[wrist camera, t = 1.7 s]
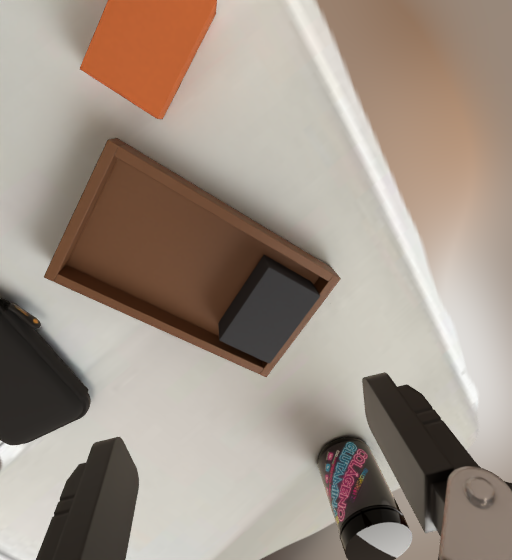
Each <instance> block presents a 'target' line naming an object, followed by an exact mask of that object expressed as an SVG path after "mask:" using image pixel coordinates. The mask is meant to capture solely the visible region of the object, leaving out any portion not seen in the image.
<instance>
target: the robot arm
mask: <svg viewBox="0 0 512 560" xmlns="http://www.w3.org/2000/svg"><path fill="white" fill-rule="evenodd" d="M362 382H363V393H364V403H365V413H366V418H367V421H368V424H369V427H370V429H371V431H372V433H373V435H374V437H375V439H376V441H377V443H378V445H379V447H380V449H381V450H382V452H383V454H384V456H385V458H386V460H387V462H388V464H389V466H390V468H391V469H392V471H393V473H394V475H395V477H396V479H397V481H398V483H399V485H400V486H401V488H402V490H403V492H404V494H405V496H406V498H407V500H408V502H409V504H410V505H411V507H412V509H413V511H414V513H415V514H416V517H417V518H418V520H419V523H420V524H421V526H422V528H423V530H424V532H425V533H428V532H432V531H436V530H437V531H438V533H439V535H440V536H441V540H440V549H439V557H438V560H512V483H508V482H505V481H503V480H502V479H501V478H499V477H498V476H497V475H495V474H493V473H492V472H490V471H488V470H485V469H482V468H481V467H479V466H478V465H477V463H476V462H475V461H474V460H473V459H472V457H471V456H470V455H469V454H468V452H467V451H466V450H465V448H464V447H463V446H462V445H461V443H460V442H459V441H458V439H457V438H456V437H455V436H454V434H453V433H452V432H451V430H450V429H449V428H448V427H447V425H446V424H445V423H444V422H443V421H442V420H441V418H440V416H439V415H438V414H437V413H436V411H435V410H433V409H432V406H431V405H430V404H429V402H428V401H427V400H426V399H425V397H424V396H423V395H422V394H421V393H419V392H418V391H416V390H415V389H413V388H412V387H410V386H409V385H403V386H399V387H397V386H396V385H395V383H394V382H393V381H392V379H391V378H390V376H389V375H388V374H387V373H381V374H376V375H372V376H368V377H364V378H363V381H362ZM138 488H139V477H138V472H137V468H136V466H135V464H134V462H133V460H132V458H131V456H130V454H129V452H128V450H127V448H126V446H125V444H124V442H123V440H122V439H121V438H120V437H116V438H112V439H108V440H104V441H100V442H96V443H94V444H93V446H92V448H91V451H90V454H89V456H88V459H87V462H86V463H83V464H79V465H78V466H77V468H76V469H75V470H74V472H73V473H72V475H71V476H70V477H69V479H68V480H67V481H66V484H65V486H64V489H63V492H62V494H61V497H60V502H58V504H57V507H56V510H55V512H54V517H52V520H51V522H50V525H49V528H48V530H47V533H46V535H45V538H44V540H43V543H42V546H41V548H40V551H39V553H38V556H37V558H36V560H125V559H126V553H127V548H128V542H129V537H130V532H131V526H132V521H133V516H134V510H135V505H136V500H137V494H138Z"/></svg>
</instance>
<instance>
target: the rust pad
mask: <svg viewBox="0 0 512 560" xmlns="http://www.w3.org/2000/svg"><path fill="white" fill-rule="evenodd" d="M216 5H217V0H108V2H107V4H106V7H105V9H104V12H103V14H102V16H101V19H100V21H99V24H98V26H97V28H96V31H95V33H94V35H93V38H92V40H91V43H90V45H89V47H88V50H87V52H86V55H85V57H84V59H83V62H82V64H81V67H80V69H81V70H82V71H84V72H85V73H87V74H88V75H90V76H91V77H93V78H95V79H96V80H98V81H99V82H101V83H102V84H104V85H105V86H107V87H109V88H110V89H112V90H113V91H115V92H116V93H118V94H119V95H121V96H123V97H124V98H126V99H127V100H129V101H130V102H132V103H133V104H135V105H137V106H138V107H140V108H141V109H143V110H144V111H146V112H147V113H149V114H151V115H152V116H154V117H155V118H157V119H163V117H164V115H165V113H166V111H167V109H168V107H169V105H170V103H171V101H172V99H173V98H174V96H175V94H176V92H177V90H178V88H179V86H180V84H181V82H182V80H183V78H184V76H185V74H186V72H187V70H188V68H189V66H190V64H191V62H192V60H193V58H194V56H195V54H196V52H197V50H198V48H199V46H200V44H201V42H202V40H203V38H204V36H205V34H206V32H207V30H208V28H209V26H210V24H211V22H212V20H213V18H214V16H215V14H216Z"/></svg>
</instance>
